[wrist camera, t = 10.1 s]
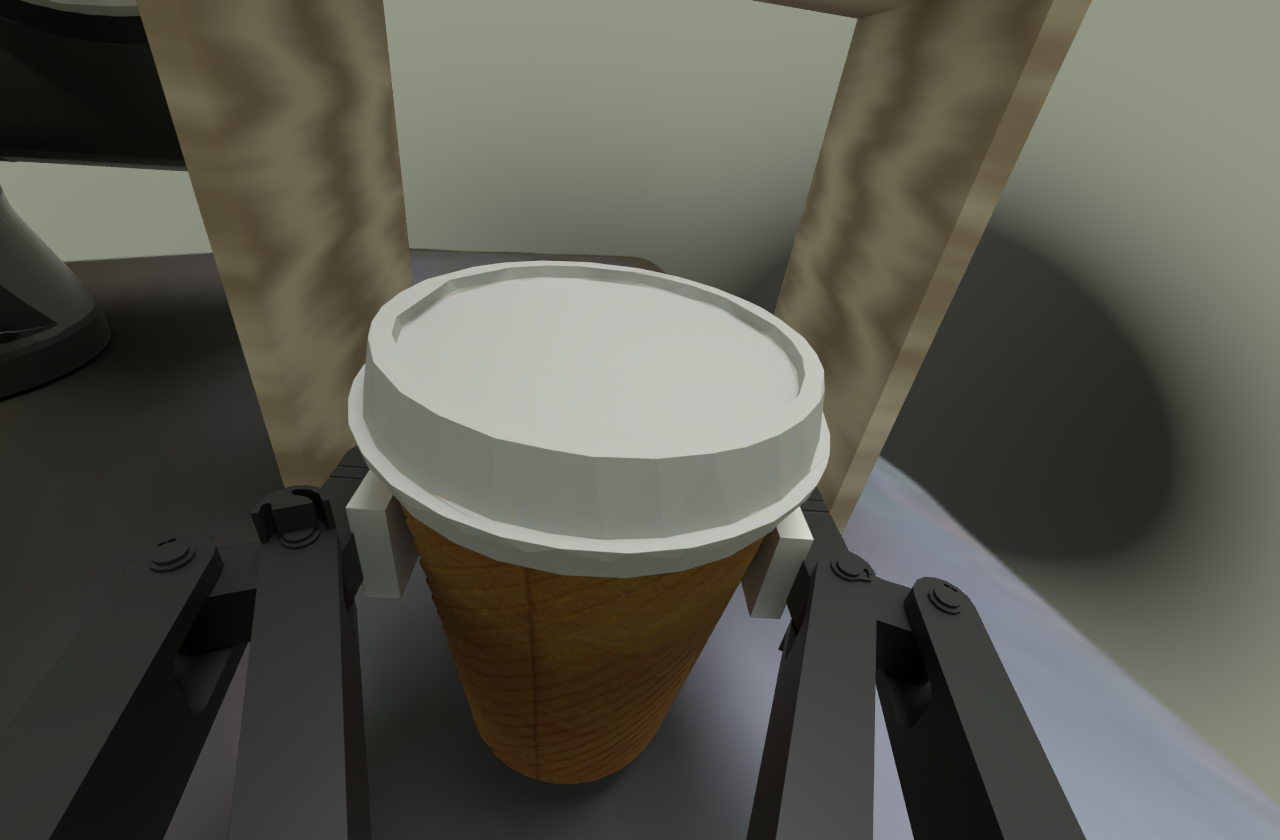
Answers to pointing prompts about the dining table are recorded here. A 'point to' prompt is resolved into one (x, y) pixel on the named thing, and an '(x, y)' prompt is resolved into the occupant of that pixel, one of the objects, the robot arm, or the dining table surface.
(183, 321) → the dining table surface
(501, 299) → the disposable coffee cup
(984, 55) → the plywood stool
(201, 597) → the robot arm
